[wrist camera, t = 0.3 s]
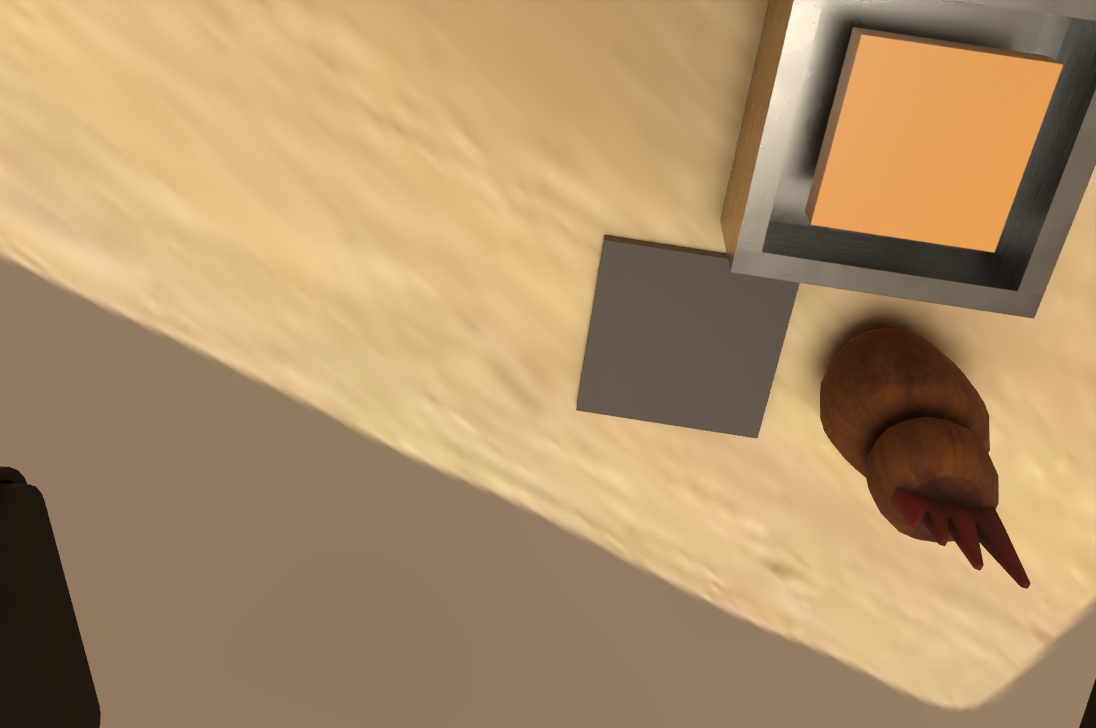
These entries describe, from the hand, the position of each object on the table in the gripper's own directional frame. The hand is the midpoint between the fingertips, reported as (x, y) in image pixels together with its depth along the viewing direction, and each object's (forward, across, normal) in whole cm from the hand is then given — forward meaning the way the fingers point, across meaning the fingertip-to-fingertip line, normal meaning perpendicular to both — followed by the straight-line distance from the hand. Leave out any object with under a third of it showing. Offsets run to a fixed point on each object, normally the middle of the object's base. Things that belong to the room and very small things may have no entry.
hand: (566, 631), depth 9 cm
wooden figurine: (+37, -13, +15) cm, 42 cm away
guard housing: (+36, -11, +3) cm, 38 cm away
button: (+32, -11, +3) cm, 34 cm away
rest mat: (+36, -3, +14) cm, 39 cm away
